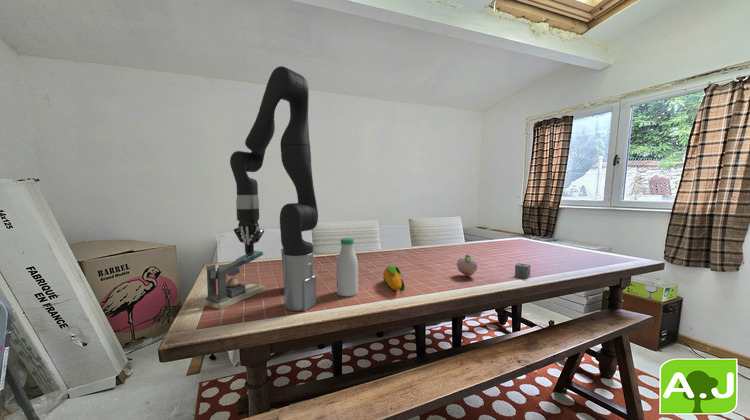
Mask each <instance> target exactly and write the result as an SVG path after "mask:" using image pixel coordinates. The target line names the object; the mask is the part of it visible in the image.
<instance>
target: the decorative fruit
mask: <svg viewBox="0 0 750 420" xmlns="http://www.w3.org/2000/svg"><path fill="white" fill-rule="evenodd" d="M456 267H457V270H458V271H459V272H460V273H461V274H462V275H464V276H466V277H468V278H469V277H470V276H472V275H474V274H475V272H476V271H477V269H478V264H477V261H476V259H474V258H473V257H471V255H470V254H469V253H467V254H465V256H460V258H458V260H457V262H456Z"/></svg>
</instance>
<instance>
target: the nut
mask: <svg viewBox="0 0 750 420" xmlns="http://www.w3.org/2000/svg"><path fill="white" fill-rule="evenodd" d="M238 284H239V280H238V279H237V278H235V277H232V278H229V279H228V280H227V281H226V285H227V287H228V288H230V289H233V288H236V287H237V286H238Z"/></svg>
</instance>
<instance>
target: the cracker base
mask: <svg viewBox="0 0 750 420" xmlns="http://www.w3.org/2000/svg"><path fill="white" fill-rule="evenodd" d="M212 270H214V271H216V270H217V279H213V278H210V275H211V271H212ZM206 280H207V282H206V284H207V285H206V286H207V297H205V299H204V300H202V305H203V306H206V307H210V308H215V309H219V310H223V309H224V308H226V307H229V306H232V305H234V304H236V303H238V302H241V301H244V300H245V299H249V298H250V297H252V296H255V295H258V294H260V293H263V292H265V291H266V290H267V289H266V287H267V286H265V285H260V284H255V283H247V284H245V283H244V284H243V283H238V286H237V287H236V288H233V289H230V288H228V287H227V274H226V265H224V266H219V267H216V264H210V265H208V266H206Z"/></svg>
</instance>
